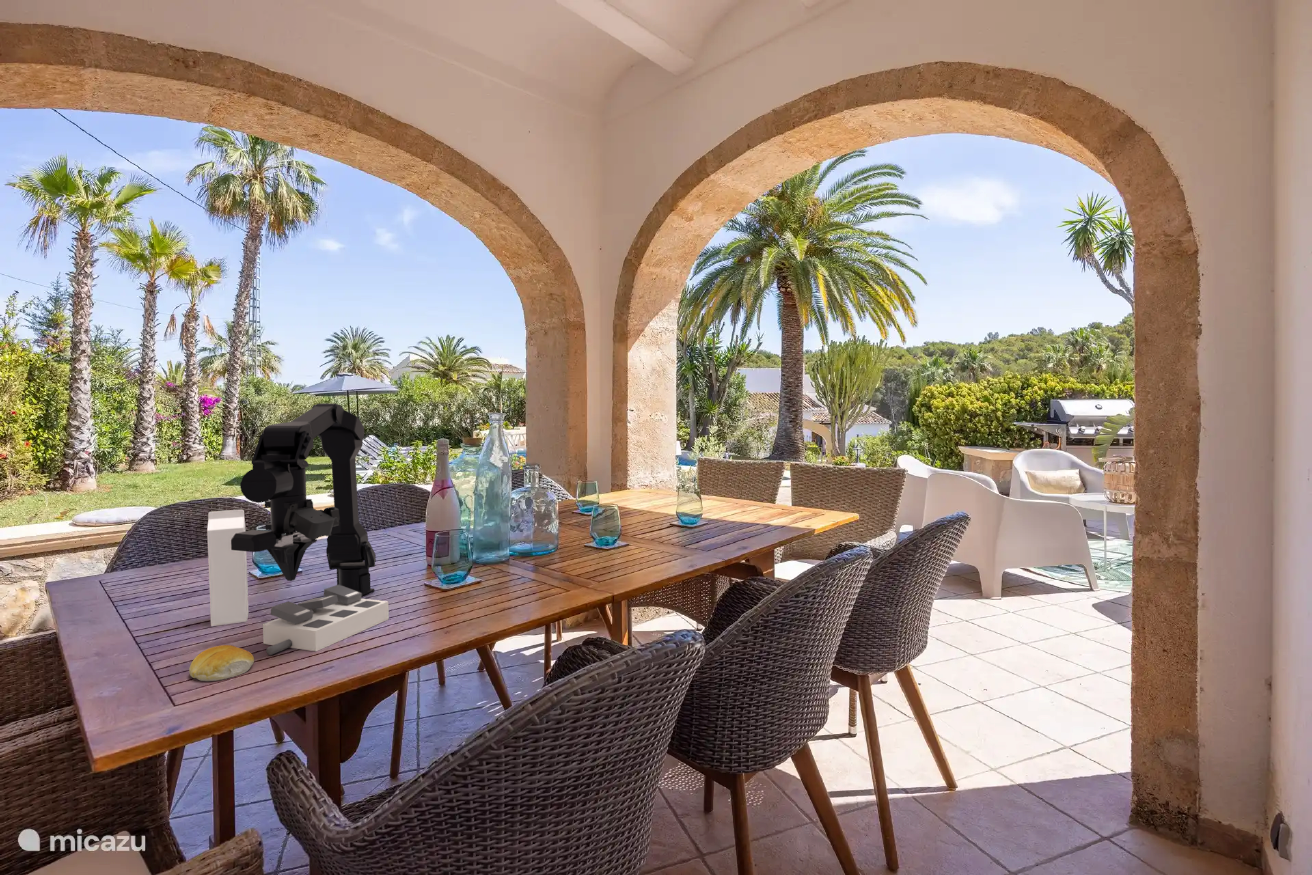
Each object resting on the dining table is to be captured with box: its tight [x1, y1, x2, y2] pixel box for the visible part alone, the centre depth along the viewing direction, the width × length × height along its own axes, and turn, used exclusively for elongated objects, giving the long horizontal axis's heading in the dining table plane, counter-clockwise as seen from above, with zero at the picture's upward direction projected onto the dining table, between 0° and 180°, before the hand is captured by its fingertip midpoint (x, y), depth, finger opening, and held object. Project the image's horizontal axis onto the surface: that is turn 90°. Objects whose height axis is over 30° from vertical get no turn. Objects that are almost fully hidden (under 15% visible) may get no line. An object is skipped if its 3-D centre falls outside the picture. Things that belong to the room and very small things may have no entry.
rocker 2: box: [323, 584, 363, 605], centre depth 130 cm, size 6×4×2 cm, turn 72°
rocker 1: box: [270, 601, 313, 624], centre depth 119 cm, size 6×4×2 cm, turn 72°
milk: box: [206, 509, 249, 627], centre depth 130 cm, size 6×6×22 cm
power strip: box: [262, 597, 390, 656], centre depth 122 cm, size 12×22×4 cm, turn 162°
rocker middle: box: [297, 595, 338, 610], centre depth 125 cm, size 6×4×2 cm, turn 71°
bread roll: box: [188, 644, 255, 682], centre depth 106 cm, size 8×9×4 cm
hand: (290, 580), depth 119 cm, fingers closed
